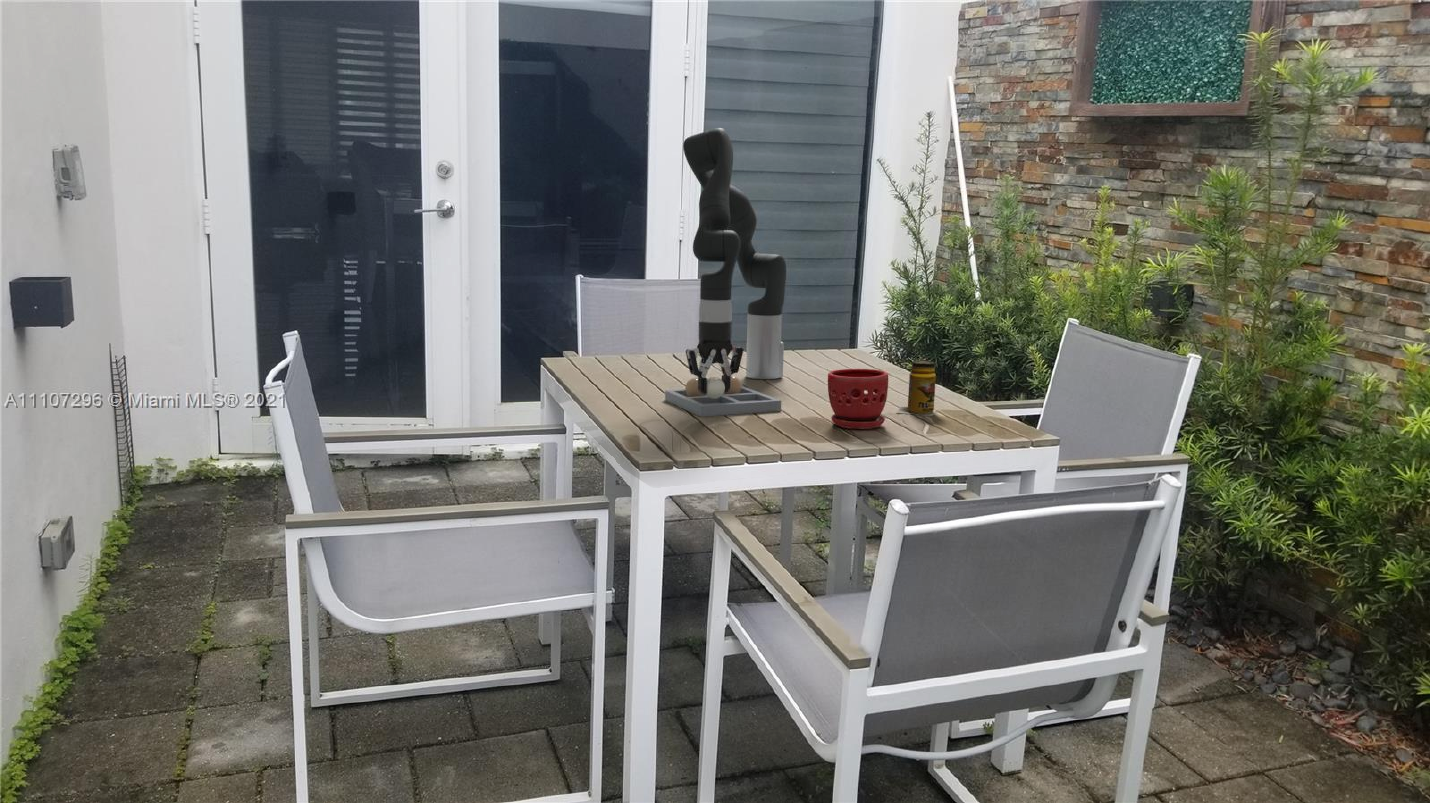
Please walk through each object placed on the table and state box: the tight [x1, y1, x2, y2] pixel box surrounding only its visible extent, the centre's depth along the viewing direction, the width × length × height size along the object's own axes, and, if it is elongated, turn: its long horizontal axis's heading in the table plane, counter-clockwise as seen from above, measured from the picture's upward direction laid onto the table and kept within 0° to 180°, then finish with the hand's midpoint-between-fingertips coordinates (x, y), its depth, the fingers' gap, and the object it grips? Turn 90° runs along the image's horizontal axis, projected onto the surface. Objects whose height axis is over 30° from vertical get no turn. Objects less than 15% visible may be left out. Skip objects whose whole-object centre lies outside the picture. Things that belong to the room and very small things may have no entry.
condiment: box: [896, 359, 937, 417], centre depth 260 cm, size 7×8×12 cm
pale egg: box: [706, 376, 725, 399], centre depth 257 cm, size 5×5×5 cm
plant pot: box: [827, 368, 889, 430], centre depth 244 cm, size 13×13×12 cm
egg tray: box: [664, 385, 782, 418], centre depth 263 cm, size 20×20×2 cm
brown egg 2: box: [724, 375, 743, 395], centre depth 269 cm, size 5×5×5 cm
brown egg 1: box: [684, 377, 704, 397], centre depth 265 cm, size 5×5×5 cm
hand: (713, 392), depth 257 cm, fingers closed on pale egg, 5 cm apart
